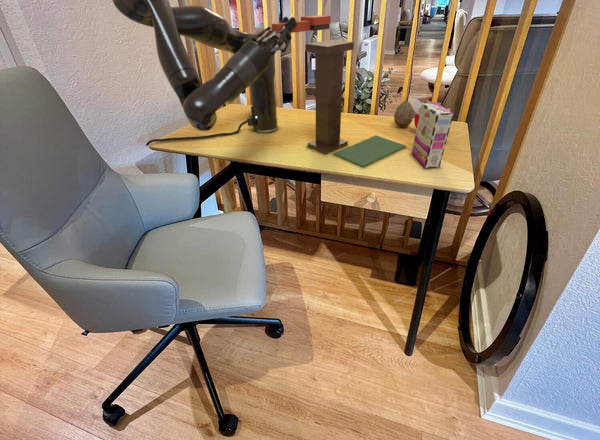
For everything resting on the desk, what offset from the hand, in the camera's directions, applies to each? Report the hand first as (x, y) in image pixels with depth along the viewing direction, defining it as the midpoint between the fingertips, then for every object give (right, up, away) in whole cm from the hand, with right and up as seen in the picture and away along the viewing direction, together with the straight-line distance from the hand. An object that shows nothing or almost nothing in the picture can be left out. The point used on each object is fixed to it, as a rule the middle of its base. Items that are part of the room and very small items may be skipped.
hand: (291, 20), depth 79 cm
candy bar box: (+42, -33, +18) cm, 56 cm away
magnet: (+50, -20, +35) cm, 64 cm away
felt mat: (+26, -28, +26) cm, 46 cm away
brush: (+2, -1, +3) cm, 4 cm away
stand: (+12, -25, +30) cm, 41 cm away
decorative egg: (+43, -15, +43) cm, 62 cm away
